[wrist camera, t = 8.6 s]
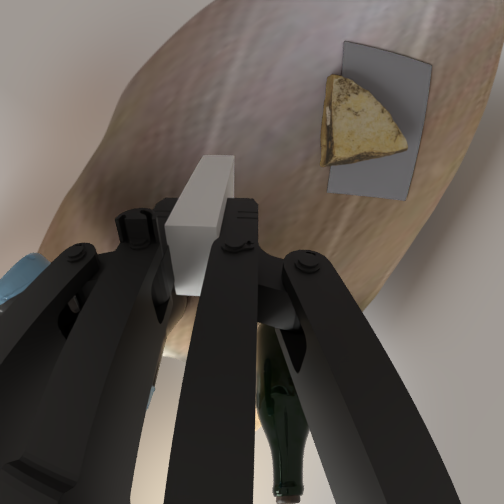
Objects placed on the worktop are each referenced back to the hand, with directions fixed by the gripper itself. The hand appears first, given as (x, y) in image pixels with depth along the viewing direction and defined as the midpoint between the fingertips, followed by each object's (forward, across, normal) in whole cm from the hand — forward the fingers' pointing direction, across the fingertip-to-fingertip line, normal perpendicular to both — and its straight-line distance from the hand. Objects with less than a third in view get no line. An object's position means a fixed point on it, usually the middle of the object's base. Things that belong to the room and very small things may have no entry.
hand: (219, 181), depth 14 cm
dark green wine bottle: (+22, -8, +39) cm, 45 cm away
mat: (+22, -17, 0) cm, 28 cm away
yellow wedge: (+20, -9, 0) cm, 22 cm away
